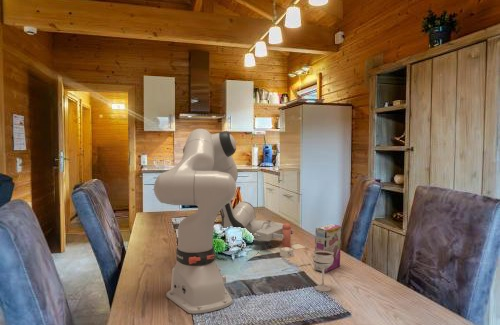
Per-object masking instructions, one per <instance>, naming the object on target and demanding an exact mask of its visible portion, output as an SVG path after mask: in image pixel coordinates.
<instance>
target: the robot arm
mask: <svg viewBox="0 0 500 325" xmlns="http://www.w3.org/2000/svg"><path fill="white" fill-rule="evenodd" d="M236 150H237V141H236V139H235V136H234V135H232V133H231V132H229V131H227V130H226V131H219V132H218V133H217V132H216V133H213V134H212V133H211V132H209V130H208V129H205V128H196V129H193V130H192V131H191V132H190V133H189V135H188V137H187V139H186V141H185V145H184V147H183V150H182V153H183V154H182V157H181V160H180V161H179V163H177V164H176V165H175V166H173V167H172V168H171V169H168V170H166V171H164V172H161V173H160V174H158V176H157V178H156V179H155V181H154V184H153V190H154V191H153V192H154V195H155V197H156V199H157V200H158V201H159V202H160V203H161V204H166V205H170V206H171V205H172V206H197V210H196V212H194V213H192V214H190V215H188V216H186V217H185V218H183V219H182V220H180V222H179V224H178V227H177V248H176V251H175V252H176V253H175V255H176V263H175V264H174V266H173V268H172V269H171V284H170V286H171V287H170V290H168V291H167V292H166V297H167V298H168V299H169V300H170V301H172V302H173V303H174V304H175V305H177V306H178V307H180V309H182V310H184V311H185V312H187V314H196V315H197V314H203V313H205V314H206V313H210V312H213V311H215V312H216V311H217V310H222V309H224V308H227V307H228V306H231V305H232V304H233V298H232V296H231V295H230V293H229V292H228V289H227V288H226V286H225V283H226V282H227V275H226V274H221V271H222V268H221V267H219V266H218V264H217V262H216V261H217V260H216V252H215V247H214V245H213V244H214V227H215V223H216V219H217V216H218V215H219V214H220V218H221V223H222V224H221V226H222V229H223V228H227V227H230V226H233V227H241V228H246V229H247V230H248V231H249V232H250V233H252V235H253V236H254V238H253V239H255V240H259V241H264V242H270V241H273V240H275V239H276V240H279V239H280V240H283V238H284V234H283V228H282V227H283V225H284V224H285V223H281V222H275V221H274V220H259V219H256V218H257V217H256V212H255V208H254V206H253V204H251V203H250V202H247V201H239V202H238V203H237V204H236V205H235V206H234V208H233V204H232V201H233V199H234V197H235V196H236V195H235V194H236V191H237V180H238V175H239V174H238V167H237V165H236V162H235V160H234V158H233V155H234V154H235V153H236ZM293 234H294V230H293V229H291V235H293Z"/></svg>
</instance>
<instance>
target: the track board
mask: <svg viewBox="0 0 500 325" xmlns="http://www.w3.org/2000/svg"><path fill="white" fill-rule="evenodd" d="M290 245H291V246H292V249H293V251H294V250H300V249H304V248H305V249H306V250H309V248H307V247H306V246H304V245H301V244H299V243H295V244H290ZM280 249H281V246H278V247H273V248H266V249H261V251H260V250H259V251H260V252H259V253H258V254H257V255H255V256H253V257H258V256H259V257H260V256H265V255H270V254H276V253H280ZM253 257H252V258H253Z"/></svg>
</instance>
